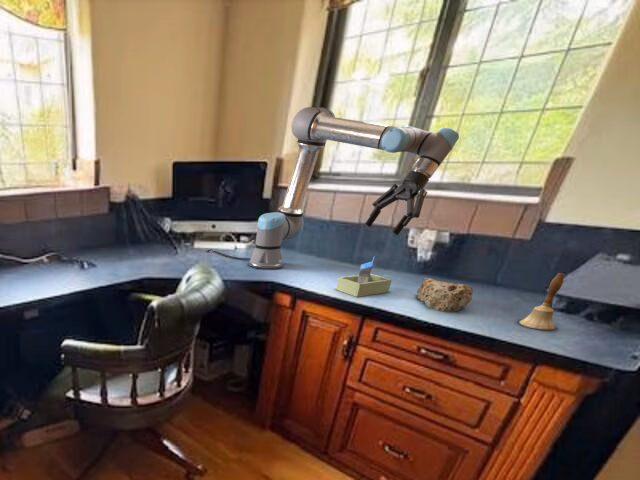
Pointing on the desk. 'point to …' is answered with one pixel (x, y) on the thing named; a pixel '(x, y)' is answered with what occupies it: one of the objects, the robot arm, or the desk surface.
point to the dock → (363, 285)
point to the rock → (444, 295)
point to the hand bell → (544, 308)
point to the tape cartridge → (365, 272)
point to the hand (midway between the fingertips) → (380, 229)
